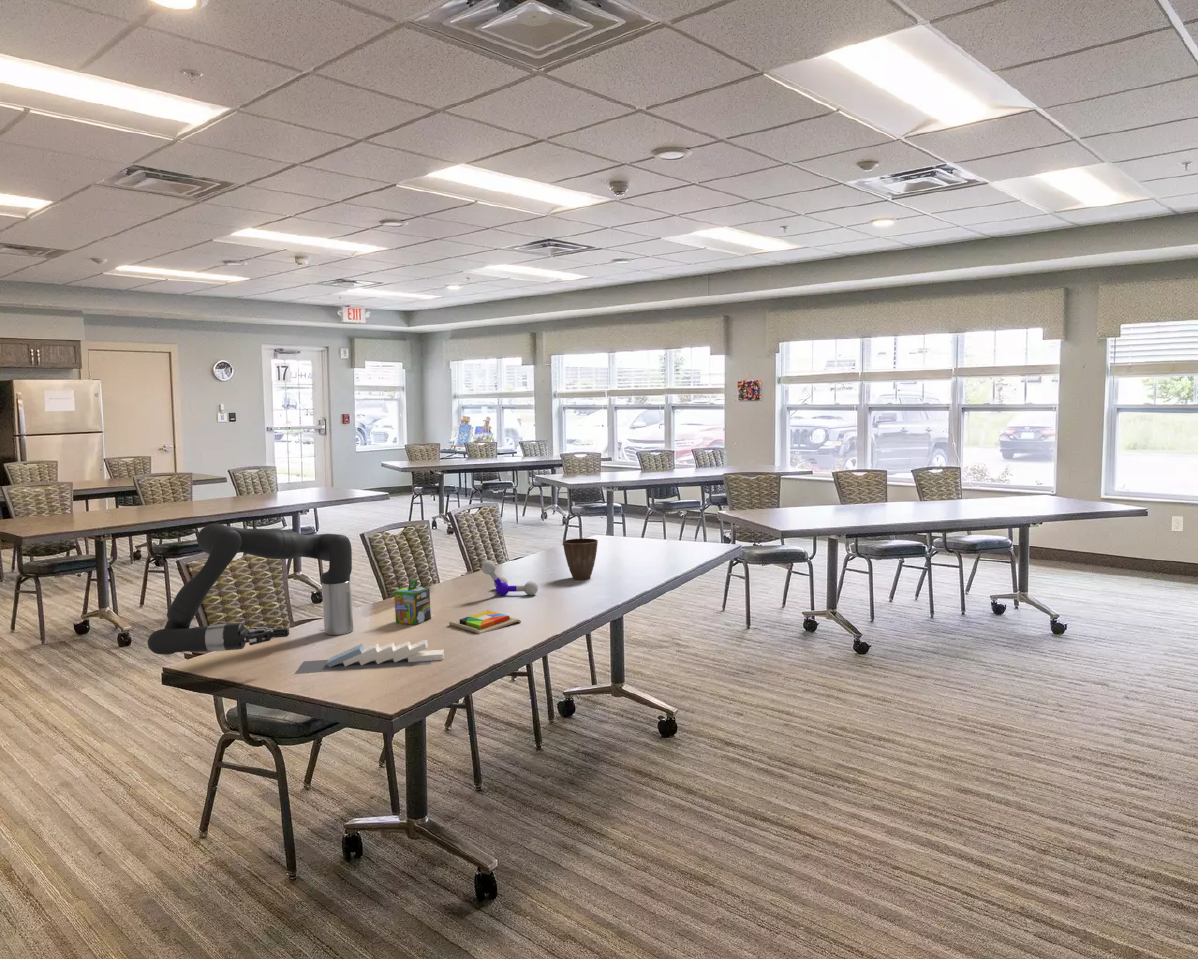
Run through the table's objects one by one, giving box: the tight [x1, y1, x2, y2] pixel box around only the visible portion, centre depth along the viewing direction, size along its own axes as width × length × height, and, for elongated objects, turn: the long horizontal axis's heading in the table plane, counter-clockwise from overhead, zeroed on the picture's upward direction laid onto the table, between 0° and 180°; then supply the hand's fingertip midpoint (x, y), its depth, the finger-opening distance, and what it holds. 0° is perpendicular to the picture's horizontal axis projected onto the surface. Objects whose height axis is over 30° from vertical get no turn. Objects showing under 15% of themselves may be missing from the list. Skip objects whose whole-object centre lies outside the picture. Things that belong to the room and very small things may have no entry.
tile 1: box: [327, 643, 365, 668], centre depth 247 cm, size 2×5×10 cm
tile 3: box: [359, 641, 396, 665], centre depth 248 cm, size 2×5×10 cm
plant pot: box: [562, 537, 599, 581], centre depth 360 cm, size 15×15×16 cm
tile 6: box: [408, 649, 445, 662], centre depth 249 cm, size 2×5×10 cm
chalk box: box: [393, 578, 432, 626], centre depth 296 cm, size 9×9×15 cm
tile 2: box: [343, 642, 381, 666], centre depth 247 cm, size 2×5×10 cm
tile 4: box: [375, 640, 412, 664], centre depth 248 cm, size 2×5×10 cm
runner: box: [294, 657, 433, 675], centre depth 248 cm, size 38×12×1 cm, turn 97°
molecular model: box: [481, 560, 539, 597], centre depth 335 cm, size 21×21×15 cm
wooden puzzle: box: [448, 610, 522, 635], centre depth 289 cm, size 18×19×4 cm
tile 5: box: [393, 639, 429, 662], centre depth 249 cm, size 2×5×10 cm
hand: (288, 632), depth 244 cm, fingers closed
